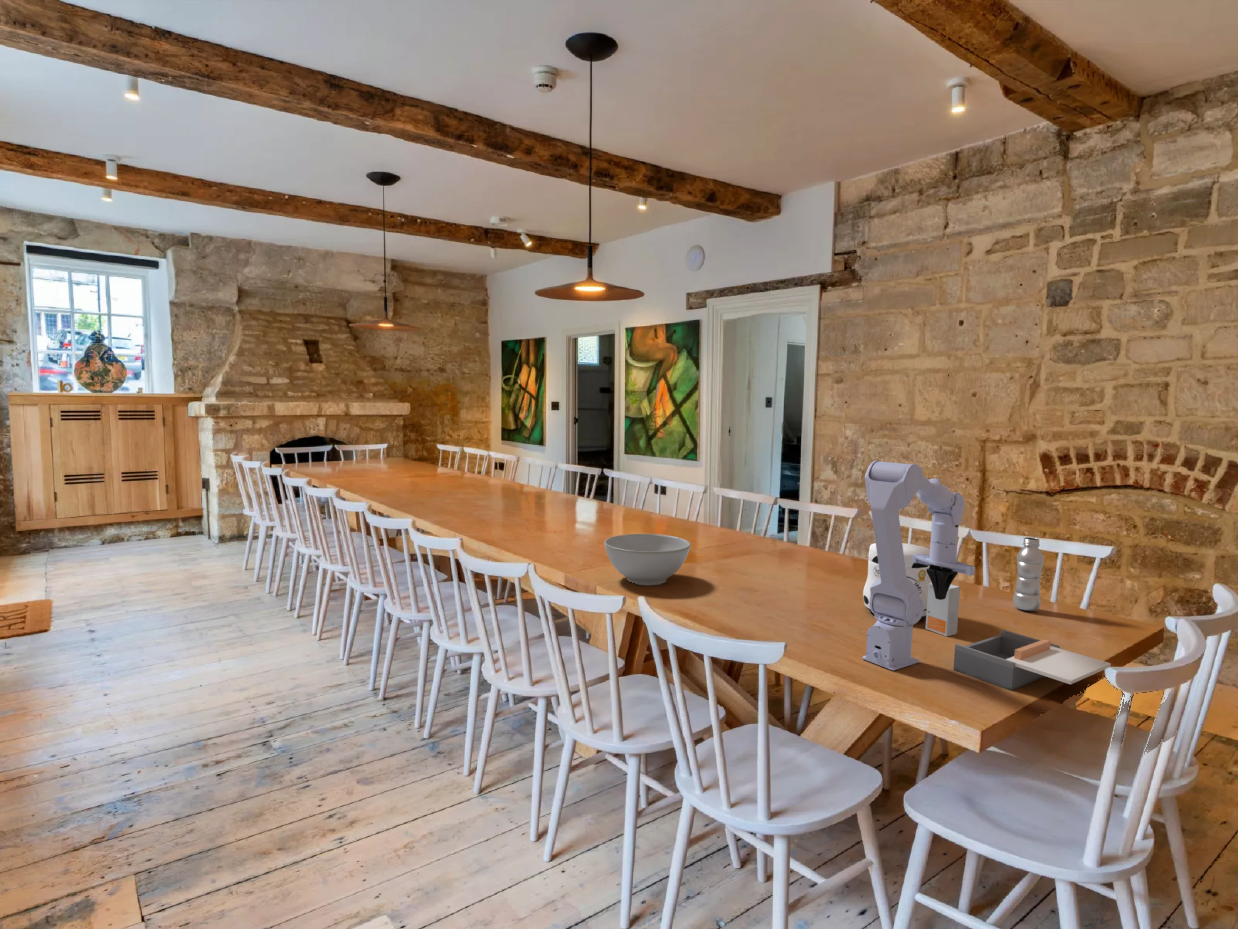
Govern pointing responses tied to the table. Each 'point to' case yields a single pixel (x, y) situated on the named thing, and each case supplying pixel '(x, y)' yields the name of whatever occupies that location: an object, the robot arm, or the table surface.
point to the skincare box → (943, 611)
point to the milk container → (913, 572)
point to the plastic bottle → (1028, 576)
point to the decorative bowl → (647, 556)
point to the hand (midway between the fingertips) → (940, 598)
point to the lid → (1056, 662)
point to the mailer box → (996, 660)
